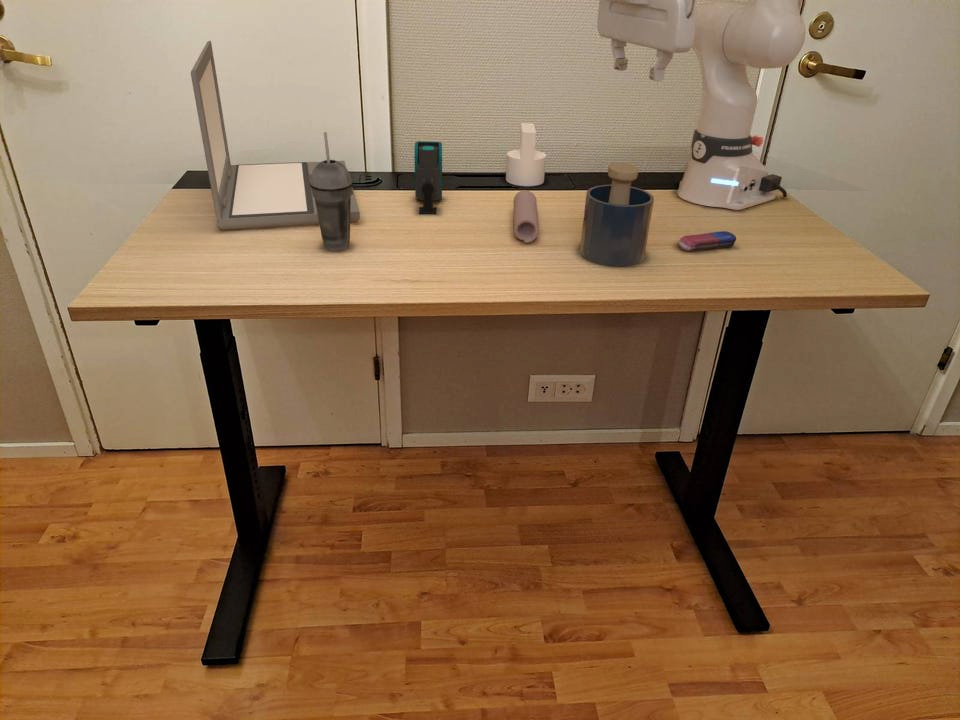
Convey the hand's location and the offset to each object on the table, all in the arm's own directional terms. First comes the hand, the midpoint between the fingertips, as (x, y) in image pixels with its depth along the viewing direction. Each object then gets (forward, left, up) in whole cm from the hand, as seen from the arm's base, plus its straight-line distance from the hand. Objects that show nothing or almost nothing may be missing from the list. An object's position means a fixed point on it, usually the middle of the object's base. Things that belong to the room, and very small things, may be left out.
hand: (637, 74), depth 113 cm
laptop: (+48, -49, -31) cm, 75 cm away
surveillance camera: (+23, -34, -31) cm, 51 cm away
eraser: (-17, +6, -31) cm, 36 cm away
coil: (+10, -16, -31) cm, 36 cm away
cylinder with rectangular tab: (-5, -42, -31) cm, 52 cm away
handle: (+2, +2, -30) cm, 30 cm away
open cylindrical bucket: (+2, +2, -30) cm, 30 cm away
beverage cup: (+47, -20, -31) cm, 59 cm away
